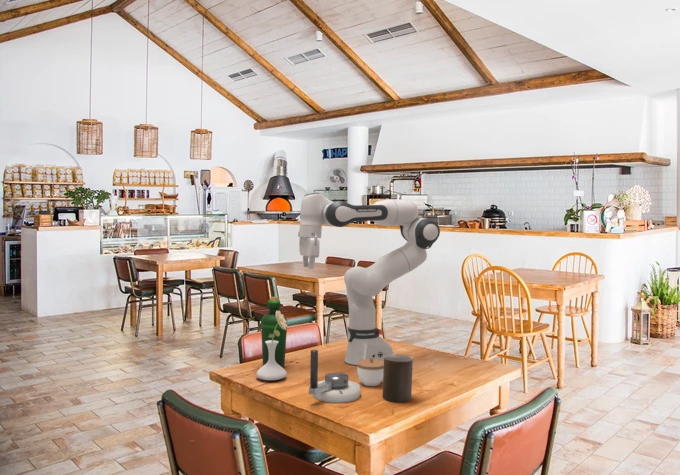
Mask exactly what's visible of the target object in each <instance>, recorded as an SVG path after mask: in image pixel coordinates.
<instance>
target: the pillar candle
mask: <svg viewBox="0 0 680 475" xmlns="http://www.w3.org/2000/svg"><path fill="white" fill-rule="evenodd" d="M412 384H413V357H412V356H409V355H406V354H405V355H404V354H394V353H393V354H392V355H387V356H384V371H383V381H382V398H383V400H385V401H387V402H393V403H407V402H409V400H410V399H411V400H412V393H413V392H412V390H413V389H412ZM411 400H410V401H411ZM406 401H407V402H406Z"/></svg>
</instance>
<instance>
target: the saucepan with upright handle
mask: <svg viewBox="0 0 680 475" xmlns="http://www.w3.org/2000/svg"><path fill="white" fill-rule="evenodd" d="M309 365H310V367H309V368H310V370H309V371H310V372H309V373H310V374H309V376H310V382H309V384H310V385H309V387H308V394H310V395H312V396H313V395H316V394H319V393H321V392H324V391H326V390H329V389H332V388H336V389H338V388H345V387H347V386H348V381H349V375H348V374H346V373H344V372H330V373H327V374H325V375H324V380H325V382H322V383H320V384H318V382H319V381H318V378H319V377H318V376H319V372H318V371H319V350H318V349H311V350H310V364H309Z"/></svg>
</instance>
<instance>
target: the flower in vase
mask: <svg viewBox="0 0 680 475" xmlns="http://www.w3.org/2000/svg"><path fill="white" fill-rule="evenodd" d="M281 314H282V315H281ZM275 315H276V319H277V321H278V323H277V324H276V327H277V325H278V324H279V325H280V327H281V328H283V329H284V330H285V329H286V327H287V329H286V330H288V320H287V321H286V320H285V318H284V316H285V315H284V314H283V313H282V312H281V311H280V310H279V311H276V314H275ZM286 323H287V324H286ZM276 327H275V329H276ZM275 329H274V333H275V335H276V336H277V337H278V336H280V332H279V331H278V330H275ZM274 333H273V335H272V334H271V333H270V335H269V336H268V337H270V338H272V340H269V341H265V343H266V344H267V347H268V351H269V359H268V362H267V363H266V364H265V365H264V366H263V365H262V366H261V367H260V368H259V369H258V370H257V371H256V374H255V375H256V377H257V378H258V379H260V380H263V381H278V380H279V381H280V380H282V379H284V378H286V376H287V374H288V372H287V370H285V369H284V367H283V368H282V367H281V366H280V365H278V364H277V363H276V361H275V349H276V345H277V344H278V342H279V341H276V340H273V337H275V335H274Z"/></svg>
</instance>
